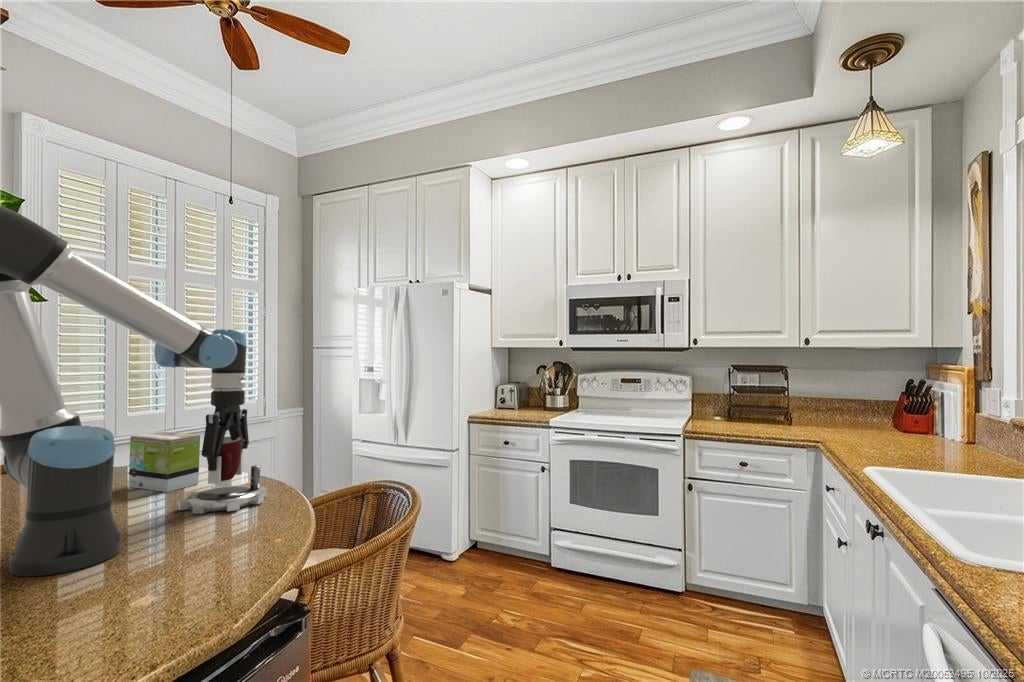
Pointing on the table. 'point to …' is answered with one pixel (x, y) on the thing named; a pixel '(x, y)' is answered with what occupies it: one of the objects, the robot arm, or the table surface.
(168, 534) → the table surface
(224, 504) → the sprocket
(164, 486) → the tea box
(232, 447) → the mug
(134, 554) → the table surface
